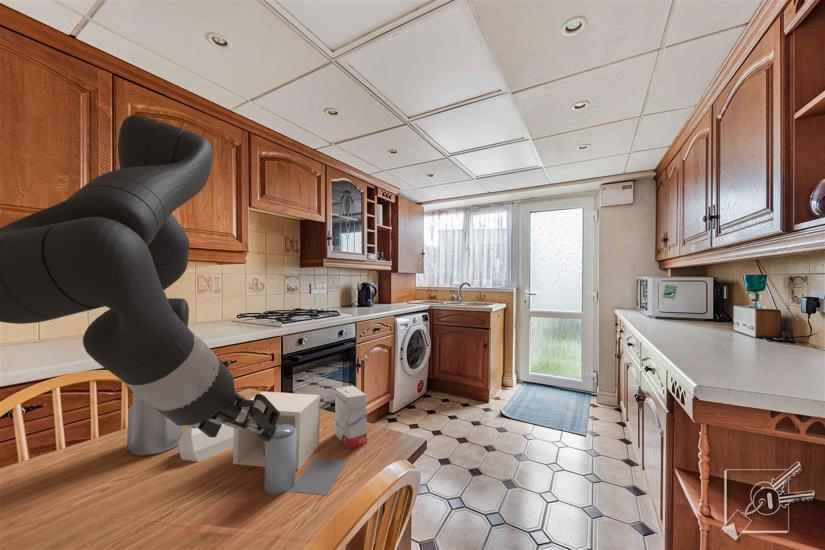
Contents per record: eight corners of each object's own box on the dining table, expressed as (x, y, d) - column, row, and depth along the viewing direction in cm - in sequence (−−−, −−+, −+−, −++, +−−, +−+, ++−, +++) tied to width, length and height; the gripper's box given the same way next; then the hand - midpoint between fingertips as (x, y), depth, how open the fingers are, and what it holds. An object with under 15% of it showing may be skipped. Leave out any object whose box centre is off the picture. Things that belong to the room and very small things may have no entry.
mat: (289, 494, 57) (289, 491, 57) (315, 460, 68) (315, 457, 68) (327, 498, 56) (327, 495, 56) (347, 463, 67) (347, 460, 67)
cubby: (232, 466, 65) (234, 407, 65) (261, 442, 75) (263, 391, 75) (298, 472, 63) (300, 412, 64) (318, 447, 73) (320, 395, 74)
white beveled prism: (270, 403, 89) (167, 437, 69) (284, 395, 86) (181, 428, 66) (278, 430, 87) (173, 473, 67) (292, 423, 83) (188, 466, 63)
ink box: (367, 446, 74) (368, 394, 75) (346, 452, 72) (348, 398, 72) (352, 431, 82) (353, 384, 82) (333, 436, 79) (334, 387, 79)
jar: (257, 496, 56) (260, 435, 57) (274, 478, 61) (276, 422, 62) (285, 499, 56) (287, 437, 56) (299, 480, 61) (301, 424, 61)
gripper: (256, 351, 38) (298, 410, 49) (149, 346, 40) (212, 405, 51) (223, 413, 33) (278, 464, 44) (101, 405, 35) (184, 456, 46)
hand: (243, 432), depth 48 cm, fingers open, 8 cm apart
